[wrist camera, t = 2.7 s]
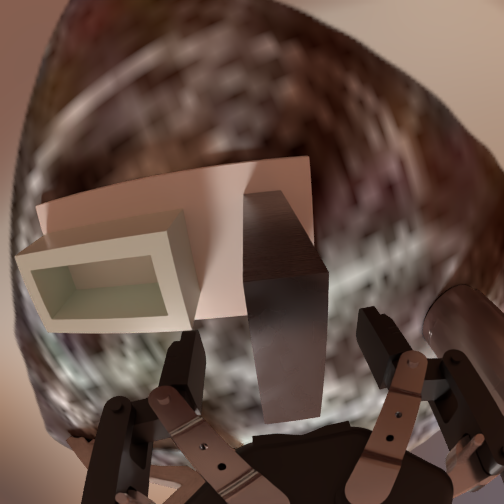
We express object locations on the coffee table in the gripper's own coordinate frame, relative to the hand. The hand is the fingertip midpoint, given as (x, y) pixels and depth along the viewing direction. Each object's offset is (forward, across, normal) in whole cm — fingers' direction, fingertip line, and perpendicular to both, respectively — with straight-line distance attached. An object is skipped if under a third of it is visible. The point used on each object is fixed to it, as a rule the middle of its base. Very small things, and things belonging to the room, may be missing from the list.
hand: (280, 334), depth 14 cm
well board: (+13, +9, 0) cm, 16 cm away
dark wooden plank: (+12, 0, 0) cm, 12 cm away
